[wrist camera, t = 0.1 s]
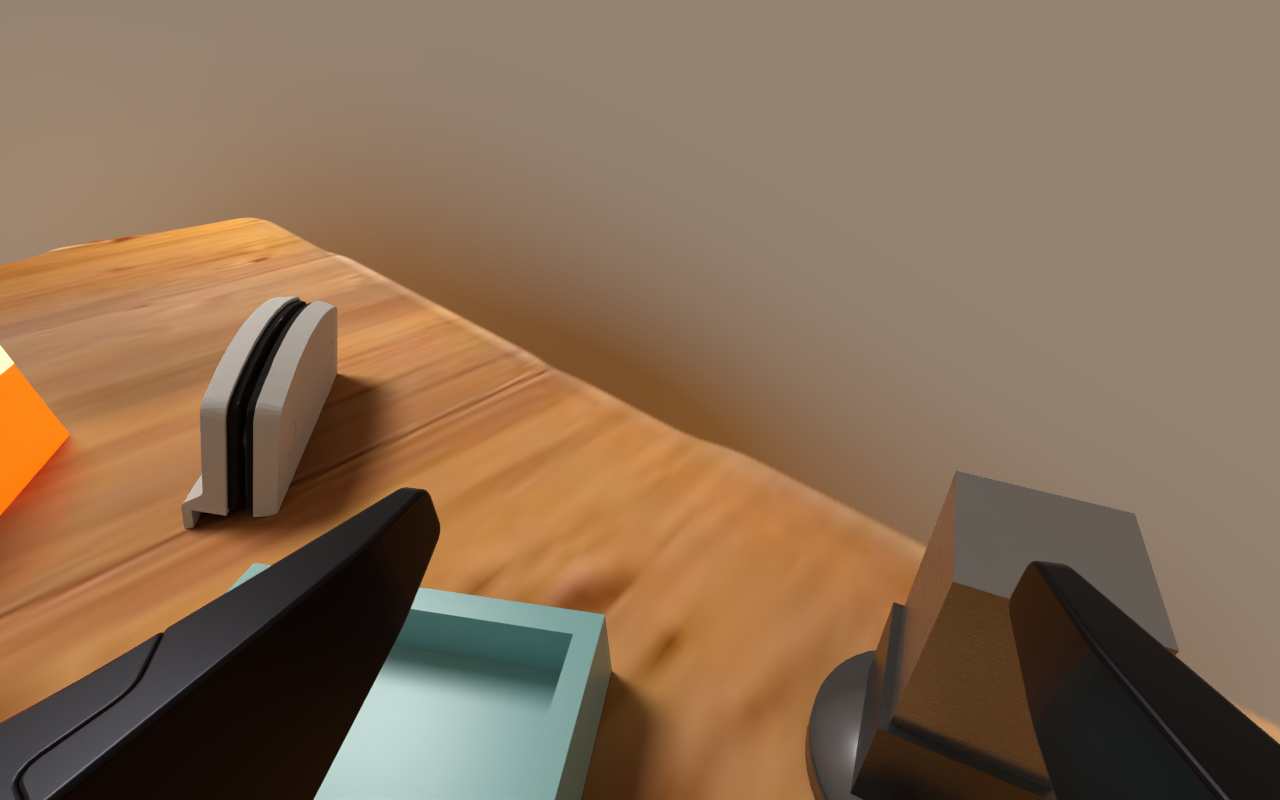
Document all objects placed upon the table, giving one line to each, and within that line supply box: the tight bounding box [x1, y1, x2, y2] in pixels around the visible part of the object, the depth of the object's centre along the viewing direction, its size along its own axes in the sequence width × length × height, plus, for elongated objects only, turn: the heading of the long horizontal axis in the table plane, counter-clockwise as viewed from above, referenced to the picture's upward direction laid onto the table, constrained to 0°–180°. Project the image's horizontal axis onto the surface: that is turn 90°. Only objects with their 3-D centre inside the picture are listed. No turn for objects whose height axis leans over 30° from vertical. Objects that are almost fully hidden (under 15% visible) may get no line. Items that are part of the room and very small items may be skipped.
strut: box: [850, 471, 1179, 800], centre depth 16 cm, size 5×5×11 cm
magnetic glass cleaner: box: [181, 297, 337, 528], centre depth 37 cm, size 17×5×10 cm, turn 13°
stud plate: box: [805, 650, 876, 800], centre depth 19 cm, size 8×8×5 cm
